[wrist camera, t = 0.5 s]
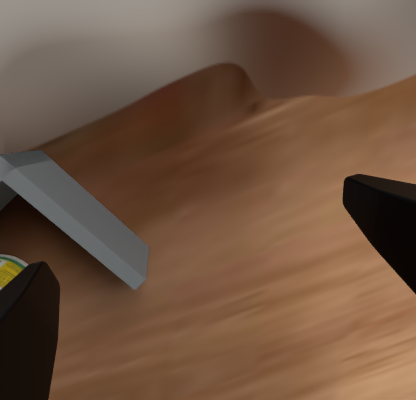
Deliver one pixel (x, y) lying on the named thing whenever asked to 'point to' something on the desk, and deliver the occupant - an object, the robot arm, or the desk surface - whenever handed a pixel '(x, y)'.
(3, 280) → the supplement bottle
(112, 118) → the desk surface
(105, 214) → the open side box
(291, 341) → the desk surface
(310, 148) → the desk surface
